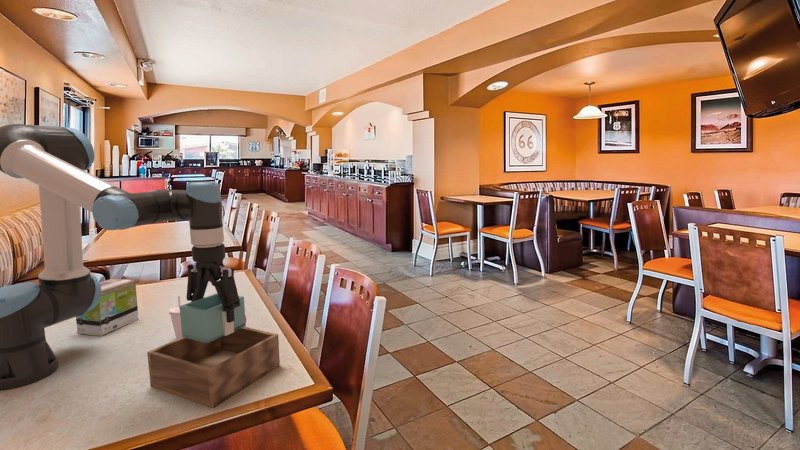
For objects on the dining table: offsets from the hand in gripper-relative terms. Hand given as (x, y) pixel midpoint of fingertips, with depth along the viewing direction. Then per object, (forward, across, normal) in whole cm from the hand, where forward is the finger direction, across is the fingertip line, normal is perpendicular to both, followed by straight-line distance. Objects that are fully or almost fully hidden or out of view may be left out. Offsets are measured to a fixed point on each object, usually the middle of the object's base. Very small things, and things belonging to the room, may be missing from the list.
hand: (215, 330), depth 110 cm
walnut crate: (+12, 0, 0) cm, 12 cm away
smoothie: (+12, +29, -12) cm, 34 cm away
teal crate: (0, 0, 0) cm, 0 cm away
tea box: (+12, +60, -8) cm, 62 cm away
